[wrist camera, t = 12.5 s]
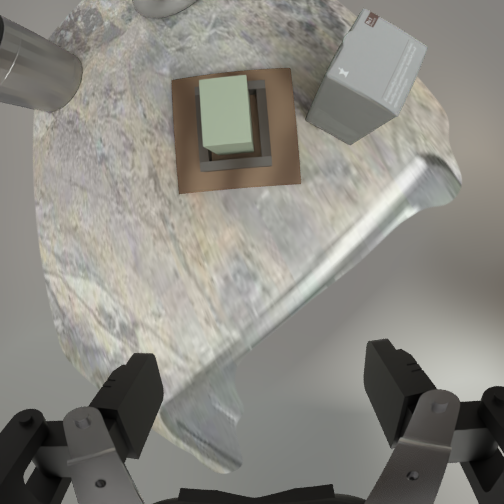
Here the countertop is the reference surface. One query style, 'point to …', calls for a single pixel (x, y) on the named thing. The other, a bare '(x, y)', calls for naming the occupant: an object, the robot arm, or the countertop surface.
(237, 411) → the countertop surface
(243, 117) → the keyed peg
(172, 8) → the donut
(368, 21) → the skincare box
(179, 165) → the keyed socket board
